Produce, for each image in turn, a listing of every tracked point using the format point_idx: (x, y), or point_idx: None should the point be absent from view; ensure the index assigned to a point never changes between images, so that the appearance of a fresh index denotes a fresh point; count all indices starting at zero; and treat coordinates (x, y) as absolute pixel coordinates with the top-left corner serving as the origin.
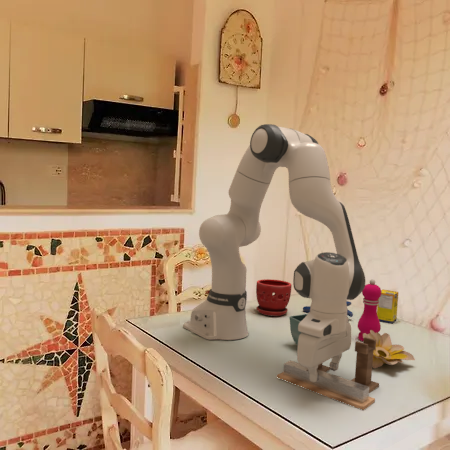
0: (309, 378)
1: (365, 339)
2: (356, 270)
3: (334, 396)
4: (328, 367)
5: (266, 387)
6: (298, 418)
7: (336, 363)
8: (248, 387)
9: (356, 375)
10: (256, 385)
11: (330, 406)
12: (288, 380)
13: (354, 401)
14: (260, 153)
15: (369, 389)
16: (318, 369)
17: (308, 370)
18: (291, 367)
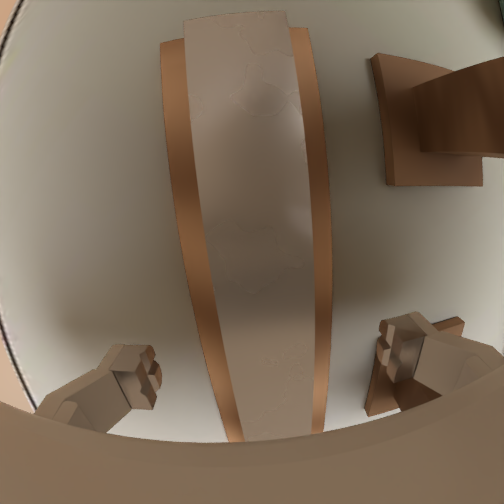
0: (111, 347)
1: None
2: None
3: (215, 392)
4: (477, 182)
5: (49, 119)
6: (30, 359)
7: (416, 371)
8: (12, 91)
9: (417, 388)
10: (38, 84)
11: (158, 396)
12: (167, 122)
13: (244, 439)
14: None
15: (378, 413)
16: (433, 156)
17: (71, 381)
18: (189, 89)
